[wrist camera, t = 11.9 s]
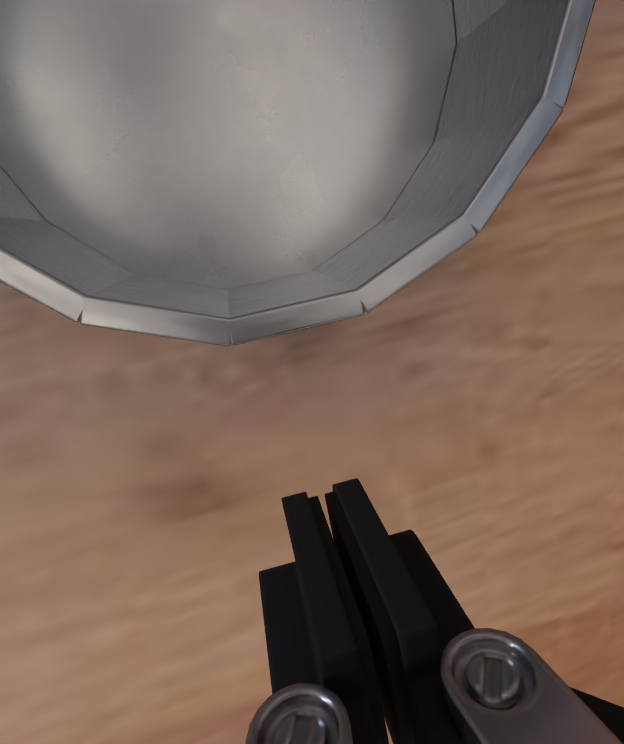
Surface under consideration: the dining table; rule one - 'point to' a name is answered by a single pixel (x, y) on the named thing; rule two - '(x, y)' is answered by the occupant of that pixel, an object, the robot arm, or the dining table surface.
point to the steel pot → (262, 151)
